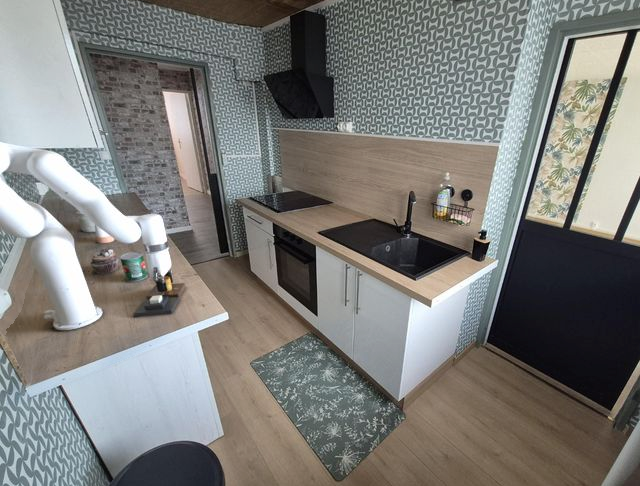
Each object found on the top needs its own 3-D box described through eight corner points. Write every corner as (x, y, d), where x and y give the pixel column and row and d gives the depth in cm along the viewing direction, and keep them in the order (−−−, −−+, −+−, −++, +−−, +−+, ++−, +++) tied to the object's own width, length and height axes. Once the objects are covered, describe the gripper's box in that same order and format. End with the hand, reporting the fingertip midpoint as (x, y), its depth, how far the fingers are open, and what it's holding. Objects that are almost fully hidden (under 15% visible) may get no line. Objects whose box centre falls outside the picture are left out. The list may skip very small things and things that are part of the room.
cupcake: (98, 266, 138) (92, 247, 135) (123, 264, 142) (118, 245, 138) (89, 275, 130) (82, 255, 126) (116, 273, 134) (110, 253, 130)
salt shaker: (113, 242, 165) (104, 209, 158) (97, 244, 162) (86, 210, 154) (115, 237, 171) (106, 206, 164) (98, 239, 167) (88, 207, 160)
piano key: (150, 304, 108) (149, 300, 108) (153, 299, 111) (152, 295, 110) (159, 303, 109) (158, 299, 108) (162, 299, 112) (161, 295, 111)
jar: (97, 224, 189) (89, 198, 182) (115, 226, 187) (107, 199, 181) (75, 231, 177) (66, 203, 170) (94, 233, 175) (85, 205, 169)
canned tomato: (122, 279, 129) (115, 256, 125) (140, 272, 136) (134, 250, 132) (133, 283, 126) (127, 260, 122) (152, 275, 133) (146, 253, 129)
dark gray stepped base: (134, 317, 106) (132, 309, 104) (145, 303, 114) (143, 295, 112) (172, 313, 109) (170, 305, 107) (179, 300, 117) (178, 293, 115)
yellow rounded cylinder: (158, 292, 117) (156, 280, 115) (162, 287, 120) (160, 275, 118) (170, 291, 118) (167, 279, 116) (173, 286, 121) (171, 275, 119)
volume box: (147, 301, 115) (146, 296, 114) (156, 290, 123) (155, 284, 122) (179, 299, 117) (177, 293, 116) (185, 287, 125) (184, 282, 124)
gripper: (154, 238, 119) (163, 277, 125) (134, 256, 103) (146, 299, 110) (174, 237, 121) (182, 276, 127) (159, 254, 105) (168, 297, 112)
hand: (165, 286), depth 119 cm, fingers open, 5 cm apart
